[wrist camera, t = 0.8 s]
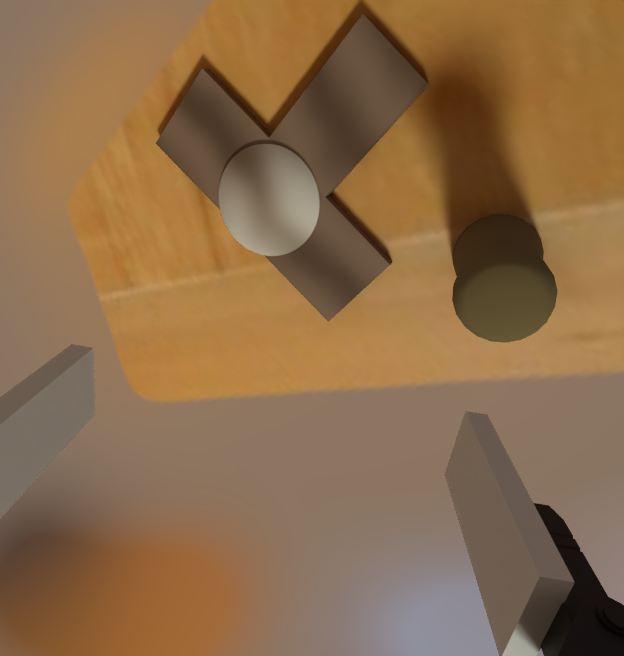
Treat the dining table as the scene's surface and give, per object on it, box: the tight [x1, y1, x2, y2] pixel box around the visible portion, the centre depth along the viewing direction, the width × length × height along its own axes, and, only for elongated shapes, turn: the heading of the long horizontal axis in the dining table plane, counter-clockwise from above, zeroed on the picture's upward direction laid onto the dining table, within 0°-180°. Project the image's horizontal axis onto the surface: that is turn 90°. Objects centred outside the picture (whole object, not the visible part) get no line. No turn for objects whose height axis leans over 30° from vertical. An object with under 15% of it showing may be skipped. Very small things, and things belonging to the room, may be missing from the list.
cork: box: [452, 215, 557, 342], centre depth 28 cm, size 6×6×11 cm
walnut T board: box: [156, 14, 429, 321], centre depth 34 cm, size 18×20×1 cm
